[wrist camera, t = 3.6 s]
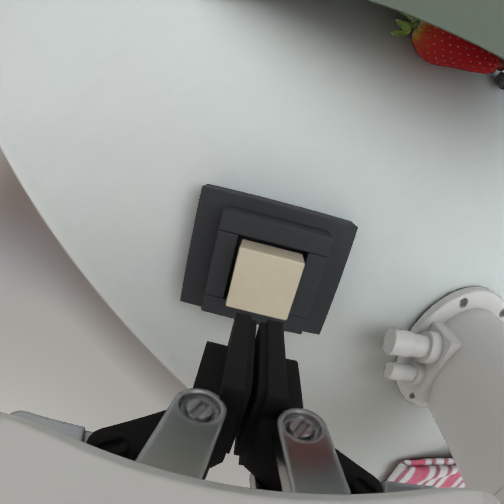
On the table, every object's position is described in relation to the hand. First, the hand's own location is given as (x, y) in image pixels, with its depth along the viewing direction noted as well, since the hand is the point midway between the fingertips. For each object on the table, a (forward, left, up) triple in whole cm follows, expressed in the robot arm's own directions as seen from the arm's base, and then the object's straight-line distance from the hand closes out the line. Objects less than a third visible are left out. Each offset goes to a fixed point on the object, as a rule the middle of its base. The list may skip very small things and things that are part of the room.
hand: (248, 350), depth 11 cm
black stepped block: (0, 0, -11) cm, 11 cm away
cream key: (0, 0, -8) cm, 8 cm away
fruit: (+12, +17, -8) cm, 23 cm away
